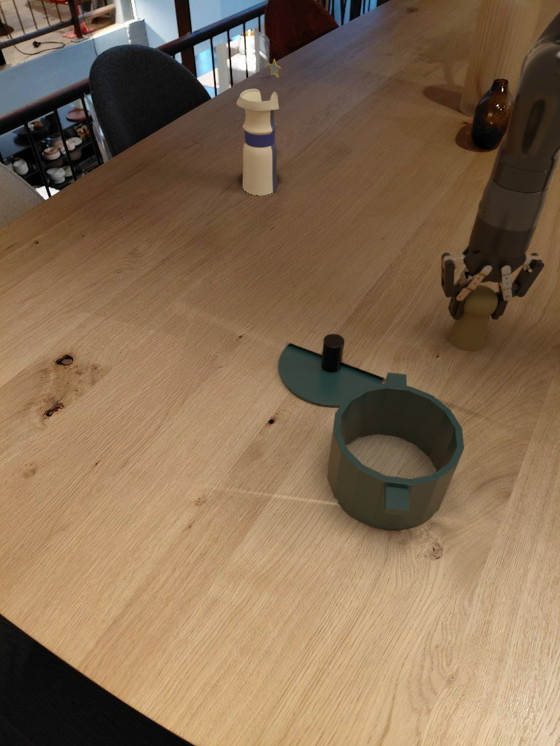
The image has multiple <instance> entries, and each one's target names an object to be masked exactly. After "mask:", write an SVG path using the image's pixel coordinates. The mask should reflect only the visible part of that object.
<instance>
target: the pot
mask: <svg viewBox="0 0 560 746" xmlns="http://www.w3.org/2000/svg"><path fill="white" fill-rule="evenodd" d="M385 379H386V380H385V382H384V383H382V384H379V385H373V386H368V387H364V388H362V389H360V390H358V391H357V392H355V393H353V394H351V395H350V396H348V397H346V398H345V400H344V401H343V403H342V404H341V405H340V407H337V409H336V411H335V413H334V419H333V425H332V433H331V441H330V446H329V447H330V448H329V456H328V464H327V473H326V478H327V481H328V484H329V486H330V490H331V492H332V494H333V497H334V498H335V499H336V500H337V504H338V505H339V506H340V508H341V509H342V510H344V511H345V512H346V513H347V514H348V515H349V516H350V517H352V518H354V519H355V520H356V521H358V522H360V523H362V524H364V525H367V526H370V527H371V528H375V529H381V530H384V531H385V530H386V531H403V530H409V529H413V528H416V527H418V526H420V525H423V524H424V523H426V522H427V521H429V520H430V519H432V517H434V514H436V513H437V512H438V511H439V510H440V507H441V505H442V503H443V501H444V499H445V497H446V494H447V492H448V490H449V488H450V485H451V482H452V480H453V477H454V475H455V472H456V470H457V467H458V465H459V463H460V460H461V458H462V455H463V452H464V450H465V444H464V434H463V427H462V426H461V424H460V423H459V421H458V420H457V419H458V418H456V416H455V414H454V412H453V411H452V410H451V409H450V408H449V407H448V406H447V405H445V404H444V403H442V401H440V400H439V399H438V398H437V397H435V396H434V395H433V394H431V393H428V392H425V391H423V390H420V389H418V388H415V387H413V386H410V385H408V384H407V374H406V373H396V372H389V371H388V372H387V373H386V377H385ZM375 435H381V436H382V435H383V436H389V437H396V438H399V439H401V440H404V441H406V442H408V443H410V444H413V445H415V446H416V448H418V449H419V450H420V451H421V452H423V454H425V455H426V456H427V457H428V458H429V459H430V462H431V463H432V465H433V467H434V469H435V470H436V471H435V472H434V473H432V474H430V475H423V476H419V477H414V478H406V477H398V476H391V475H386V474H383V473H381V472H380V471H377V470H374V469H372V468H371V467H368V466H366V465H364V464H363V463H362V462H361V461H360V460H359V459H358V458H357V457H356V456H355V455H354V454H353V453H352V452H351V451H350V450H349V449H348V447H347V446H348V445H349V444H351V443H352V442H354V441H356V440H357V439H359V438H365V437H368V436H369V437H370V436H375Z"/></svg>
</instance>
